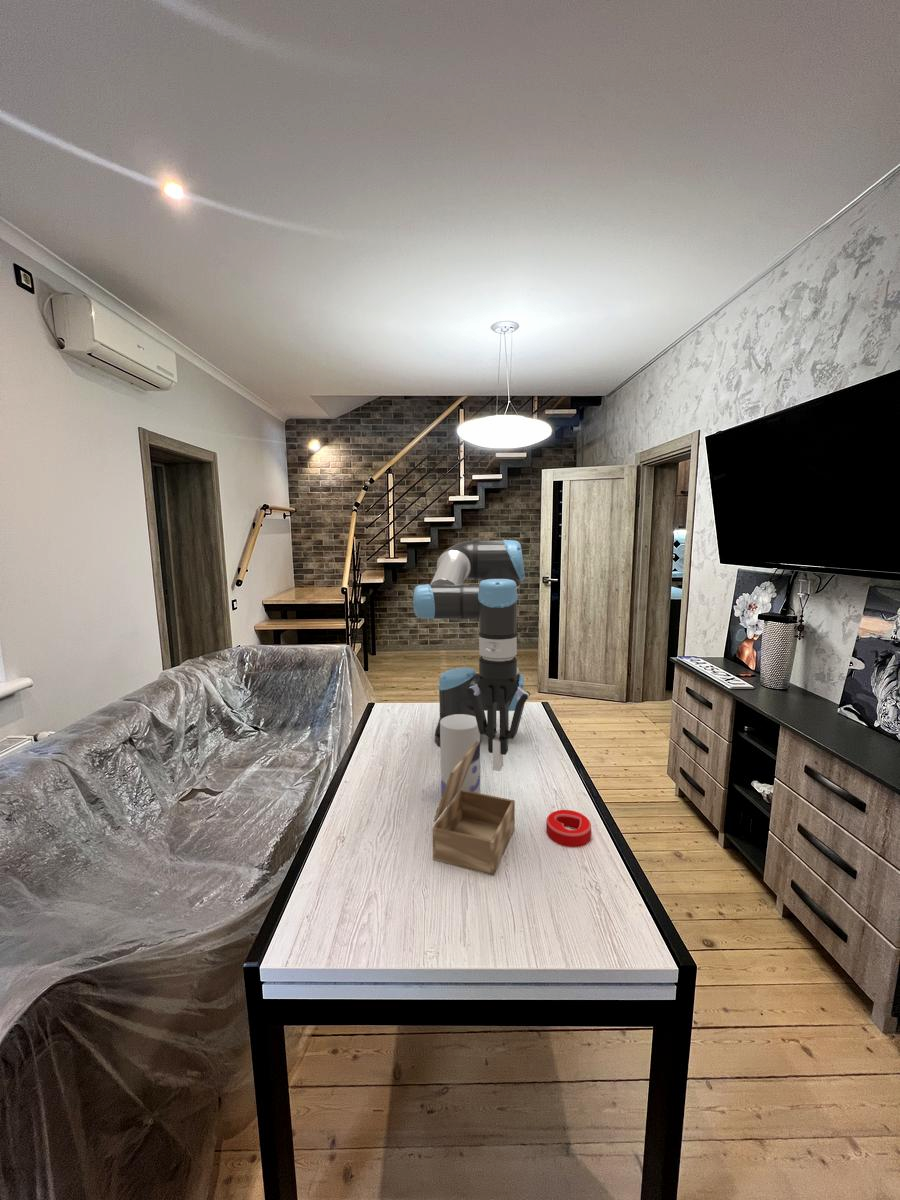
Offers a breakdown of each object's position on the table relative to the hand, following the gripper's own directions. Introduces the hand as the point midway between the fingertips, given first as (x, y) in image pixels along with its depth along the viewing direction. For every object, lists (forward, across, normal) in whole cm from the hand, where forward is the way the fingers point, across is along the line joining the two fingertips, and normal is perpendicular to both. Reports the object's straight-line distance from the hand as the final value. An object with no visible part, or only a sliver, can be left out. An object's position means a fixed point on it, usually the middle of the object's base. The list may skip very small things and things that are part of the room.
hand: (498, 767), depth 100 cm
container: (+19, -15, +17) cm, 29 cm away
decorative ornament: (+19, +13, +11) cm, 25 cm away
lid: (+4, -9, 0) cm, 10 cm away
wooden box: (+18, -5, 0) cm, 19 cm away
